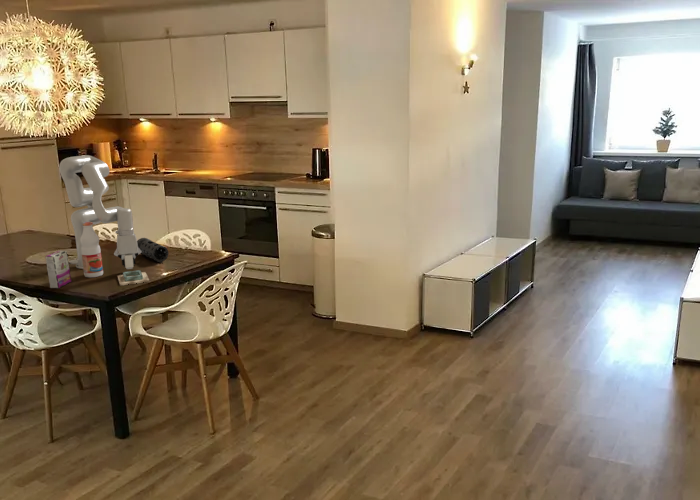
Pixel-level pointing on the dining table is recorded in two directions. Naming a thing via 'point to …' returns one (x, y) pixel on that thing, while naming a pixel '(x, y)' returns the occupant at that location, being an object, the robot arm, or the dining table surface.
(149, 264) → the dining table surface
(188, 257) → the dining table surface
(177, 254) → the dining table surface
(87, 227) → the fruit juice
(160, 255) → the muzzle brake
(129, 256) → the block
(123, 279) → the holder
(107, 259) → the dining table surface
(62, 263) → the candy bar box
